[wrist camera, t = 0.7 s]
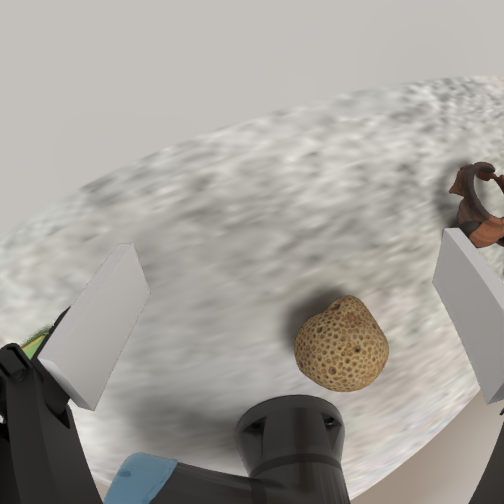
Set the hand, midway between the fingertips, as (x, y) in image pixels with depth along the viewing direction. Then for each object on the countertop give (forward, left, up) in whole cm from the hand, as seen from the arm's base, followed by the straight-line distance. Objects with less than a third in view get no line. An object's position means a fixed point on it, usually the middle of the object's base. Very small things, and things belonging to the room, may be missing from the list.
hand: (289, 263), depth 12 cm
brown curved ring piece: (-1, -24, -19) cm, 31 cm away
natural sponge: (-13, -7, -19) cm, 24 cm away
